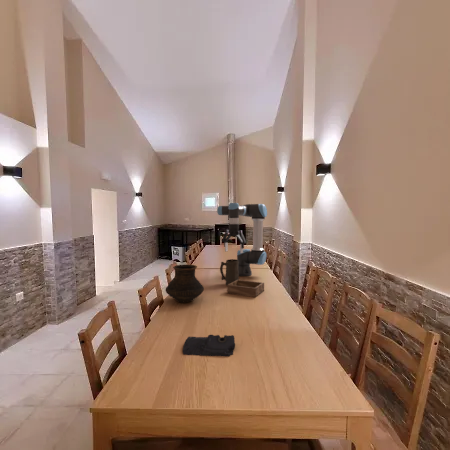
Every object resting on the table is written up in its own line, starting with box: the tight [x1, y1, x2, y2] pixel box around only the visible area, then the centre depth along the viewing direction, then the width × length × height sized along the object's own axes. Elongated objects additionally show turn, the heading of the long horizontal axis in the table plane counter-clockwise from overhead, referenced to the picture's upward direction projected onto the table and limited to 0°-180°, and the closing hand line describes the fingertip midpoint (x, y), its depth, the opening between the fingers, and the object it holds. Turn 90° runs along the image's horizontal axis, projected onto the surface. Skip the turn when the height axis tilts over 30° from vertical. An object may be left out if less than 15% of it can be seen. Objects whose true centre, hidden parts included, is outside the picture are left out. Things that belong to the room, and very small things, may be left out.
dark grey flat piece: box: [182, 334, 236, 358], centre depth 122 cm, size 15×22×5 cm
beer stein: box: [219, 258, 240, 286], centre depth 226 cm, size 15×11×20 cm
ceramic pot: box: [165, 264, 205, 303], centre depth 185 cm, size 24×24×22 cm
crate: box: [226, 279, 265, 298], centre depth 205 cm, size 17×21×6 cm
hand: (233, 252), depth 212 cm, fingers open, 13 cm apart
